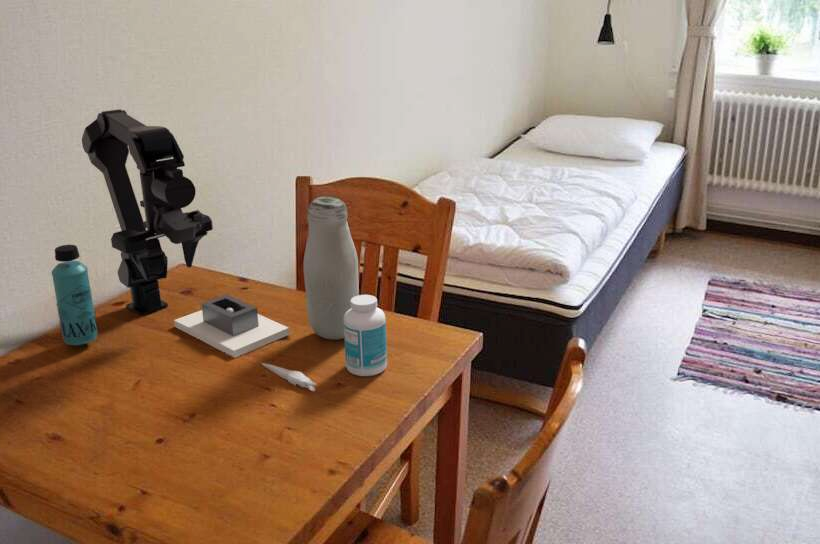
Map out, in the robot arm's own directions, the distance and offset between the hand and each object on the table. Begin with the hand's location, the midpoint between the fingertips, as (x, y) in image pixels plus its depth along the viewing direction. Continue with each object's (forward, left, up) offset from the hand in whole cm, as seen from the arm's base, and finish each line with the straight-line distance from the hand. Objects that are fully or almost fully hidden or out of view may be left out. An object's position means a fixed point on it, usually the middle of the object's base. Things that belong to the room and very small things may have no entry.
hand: (168, 273), depth 157 cm
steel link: (+9, +7, -10) cm, 15 cm away
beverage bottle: (-7, -16, -12) cm, 21 cm away
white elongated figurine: (+32, +2, -12) cm, 34 cm away
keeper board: (+9, +7, -12) cm, 17 cm away
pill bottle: (+40, +14, -12) cm, 44 cm away
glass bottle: (+26, +19, -12) cm, 34 cm away
